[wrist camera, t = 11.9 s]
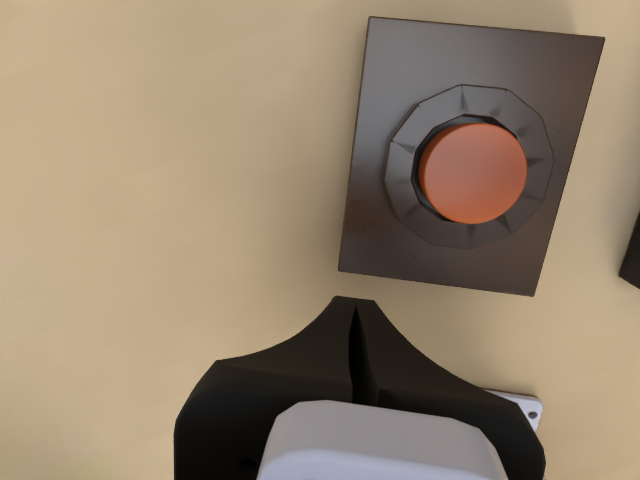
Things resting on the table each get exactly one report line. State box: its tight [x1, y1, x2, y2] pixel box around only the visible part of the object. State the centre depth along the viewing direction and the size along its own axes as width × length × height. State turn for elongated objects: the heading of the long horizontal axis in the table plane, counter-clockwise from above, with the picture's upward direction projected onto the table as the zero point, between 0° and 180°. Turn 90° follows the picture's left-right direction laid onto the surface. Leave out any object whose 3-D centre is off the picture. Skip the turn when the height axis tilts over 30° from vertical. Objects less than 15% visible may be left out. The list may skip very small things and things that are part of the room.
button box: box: [338, 16, 605, 297], centre depth 19 cm, size 12×10×4 cm
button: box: [418, 123, 528, 224], centre depth 17 cm, size 4×4×2 cm
